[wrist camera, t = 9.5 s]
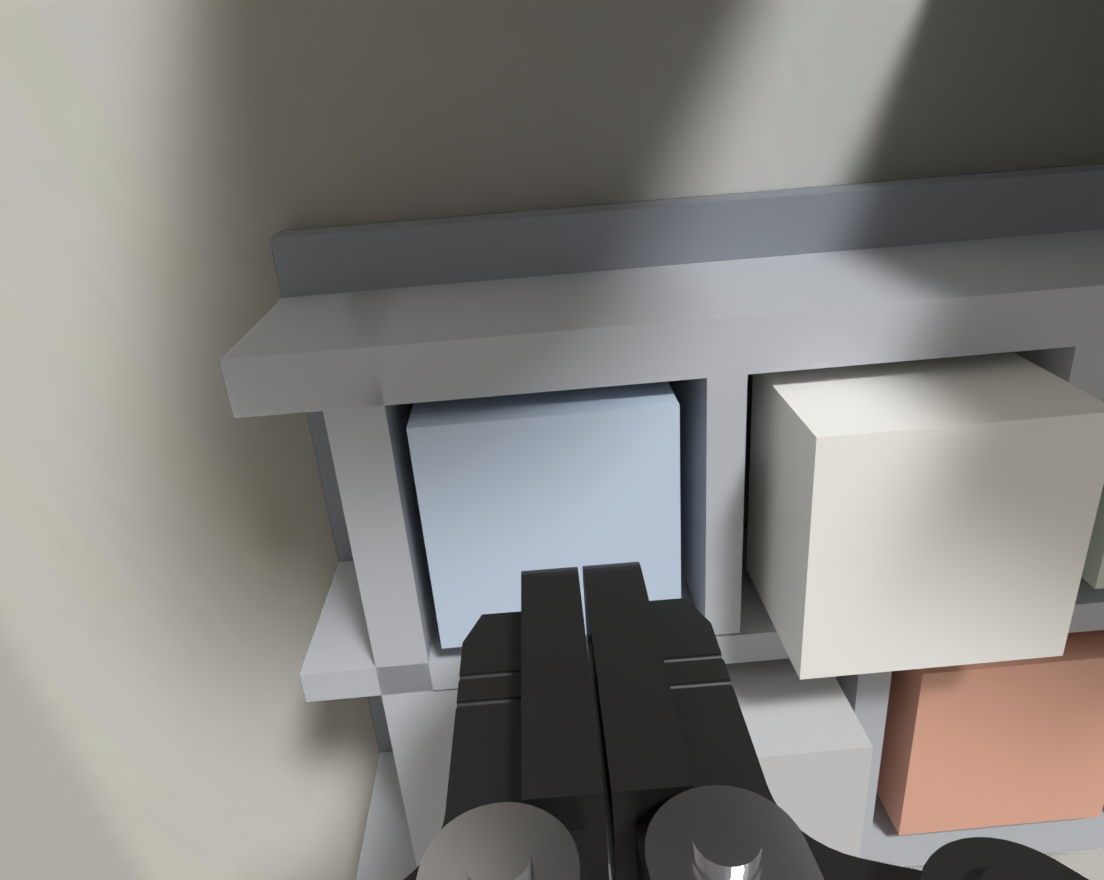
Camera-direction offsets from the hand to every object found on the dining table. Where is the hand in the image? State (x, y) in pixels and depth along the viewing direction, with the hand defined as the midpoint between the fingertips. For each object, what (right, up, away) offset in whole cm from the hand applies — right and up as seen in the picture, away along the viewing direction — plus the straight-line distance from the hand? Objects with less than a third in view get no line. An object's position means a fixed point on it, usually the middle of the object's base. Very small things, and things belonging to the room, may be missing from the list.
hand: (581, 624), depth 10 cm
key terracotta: (+8, -2, +7) cm, 11 cm away
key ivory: (+5, +2, +4) cm, 7 cm away
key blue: (-1, +2, +5) cm, 5 cm away
